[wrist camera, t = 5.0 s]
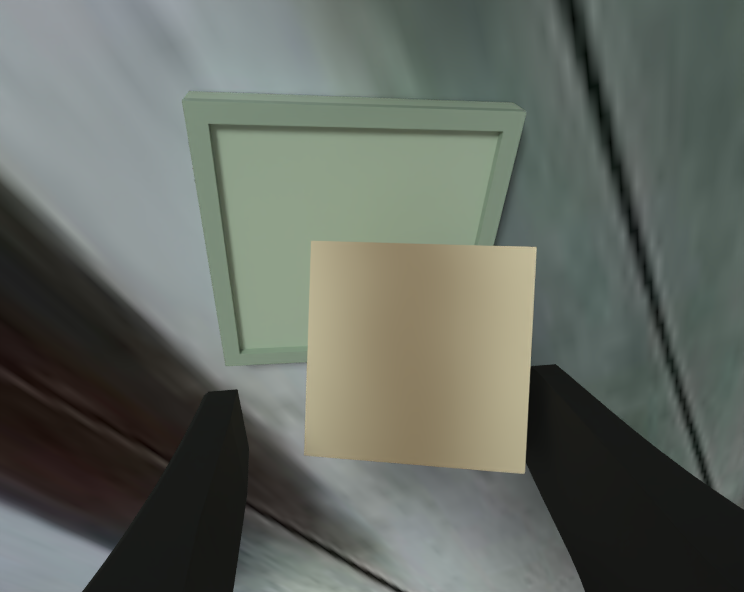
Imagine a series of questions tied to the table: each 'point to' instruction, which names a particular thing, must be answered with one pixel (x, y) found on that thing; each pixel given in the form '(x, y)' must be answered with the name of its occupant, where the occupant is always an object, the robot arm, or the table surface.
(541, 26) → the table surface
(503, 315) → the maple block
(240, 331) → the tray
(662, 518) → the robot arm
